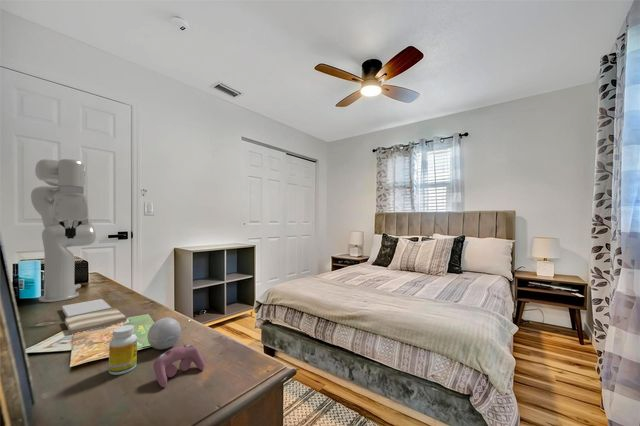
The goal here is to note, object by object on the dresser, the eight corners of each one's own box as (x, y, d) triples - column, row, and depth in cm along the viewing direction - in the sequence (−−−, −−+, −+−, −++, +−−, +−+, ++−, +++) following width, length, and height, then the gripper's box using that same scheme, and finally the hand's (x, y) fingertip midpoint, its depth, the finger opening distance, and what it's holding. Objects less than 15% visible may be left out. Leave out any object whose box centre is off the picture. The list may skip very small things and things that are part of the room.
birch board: (126, 321, 93) (126, 317, 93) (71, 335, 83) (71, 330, 83) (115, 312, 102) (115, 308, 102) (64, 322, 92) (65, 318, 92)
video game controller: (198, 370, 67) (192, 341, 69) (207, 368, 64) (200, 337, 66) (154, 390, 59) (148, 357, 61) (162, 388, 57) (156, 353, 59)
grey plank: (111, 311, 103) (111, 307, 103) (68, 320, 94) (68, 316, 94) (101, 302, 113) (101, 298, 113) (62, 309, 104) (62, 305, 104)
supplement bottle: (108, 368, 65) (108, 327, 65) (135, 360, 68) (135, 322, 68) (109, 378, 61) (109, 335, 61) (138, 370, 64) (138, 329, 64)
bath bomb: (184, 348, 75) (184, 319, 75) (150, 358, 69) (150, 326, 69) (176, 338, 81) (176, 311, 81) (144, 347, 75) (145, 317, 76)
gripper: (44, 189, 99) (44, 240, 99) (97, 192, 110) (96, 237, 110) (43, 190, 104) (42, 239, 104) (93, 193, 115) (92, 236, 115)
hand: (70, 238), depth 107 cm, fingers closed
